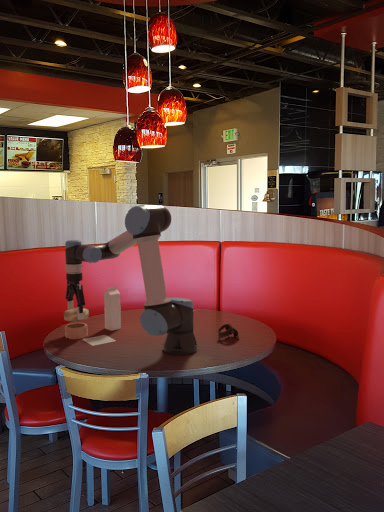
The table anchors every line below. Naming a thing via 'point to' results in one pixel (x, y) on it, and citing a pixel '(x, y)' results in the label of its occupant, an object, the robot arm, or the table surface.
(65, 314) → the brass lid
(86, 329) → the terracotta bowl
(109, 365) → the table surface
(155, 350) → the table surface
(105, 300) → the milk
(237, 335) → the pottery mug
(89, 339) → the silicone mat
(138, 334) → the table surface
